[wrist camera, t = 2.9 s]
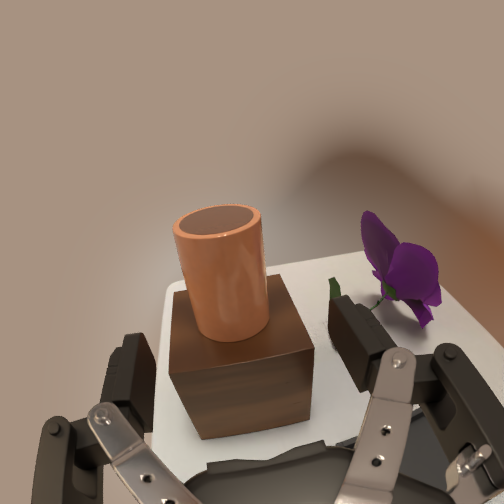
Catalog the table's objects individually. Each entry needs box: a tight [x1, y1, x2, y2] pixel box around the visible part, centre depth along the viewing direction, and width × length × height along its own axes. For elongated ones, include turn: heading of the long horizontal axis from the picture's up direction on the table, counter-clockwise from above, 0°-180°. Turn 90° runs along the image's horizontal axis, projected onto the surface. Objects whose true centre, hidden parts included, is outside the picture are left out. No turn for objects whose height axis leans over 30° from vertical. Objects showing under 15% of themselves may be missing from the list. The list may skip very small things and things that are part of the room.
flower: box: [329, 211, 442, 329], centre depth 34 cm, size 15×15×14 cm
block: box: [169, 274, 315, 439], centre depth 28 cm, size 11×11×11 cm
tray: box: [335, 407, 450, 492], centre depth 17 cm, size 16×13×2 cm
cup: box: [173, 204, 270, 342], centre depth 24 cm, size 6×6×9 cm
